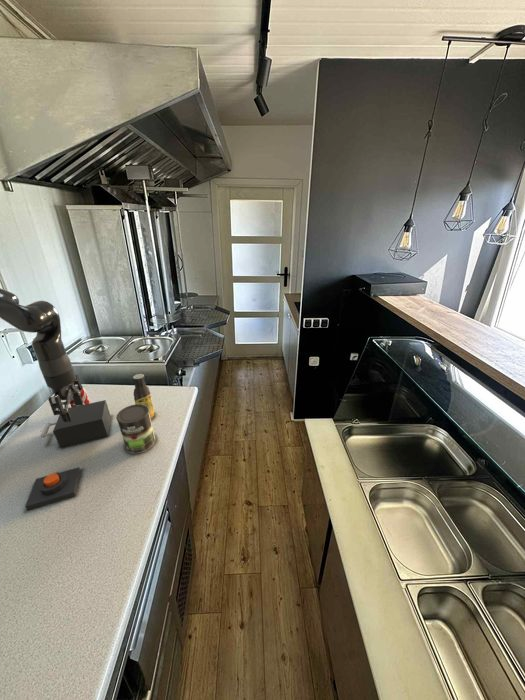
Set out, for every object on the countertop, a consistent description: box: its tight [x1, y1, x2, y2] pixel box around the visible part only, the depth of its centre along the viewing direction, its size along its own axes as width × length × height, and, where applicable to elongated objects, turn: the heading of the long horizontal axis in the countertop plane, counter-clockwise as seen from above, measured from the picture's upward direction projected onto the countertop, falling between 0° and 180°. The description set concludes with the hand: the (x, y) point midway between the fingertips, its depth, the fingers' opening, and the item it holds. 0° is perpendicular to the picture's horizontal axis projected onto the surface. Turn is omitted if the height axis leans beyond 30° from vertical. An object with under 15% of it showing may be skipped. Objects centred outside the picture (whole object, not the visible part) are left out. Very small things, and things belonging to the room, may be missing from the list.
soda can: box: [69, 385, 91, 408], centre depth 119 cm, size 7×7×12 cm
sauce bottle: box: [132, 373, 155, 421], centre depth 113 cm, size 6×6×20 cm
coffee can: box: [115, 404, 156, 454], centre depth 101 cm, size 10×10×14 cm
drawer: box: [40, 415, 63, 447], centre depth 107 cm, size 18×11×7 cm, turn 111°
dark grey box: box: [56, 399, 112, 448], centre depth 109 cm, size 15×13×9 cm
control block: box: [24, 466, 82, 511], centre depth 86 cm, size 12×10×4 cm
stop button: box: [44, 472, 60, 487], centre depth 85 cm, size 4×4×2 cm
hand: (74, 412), depth 92 cm, fingers open, 8 cm apart
